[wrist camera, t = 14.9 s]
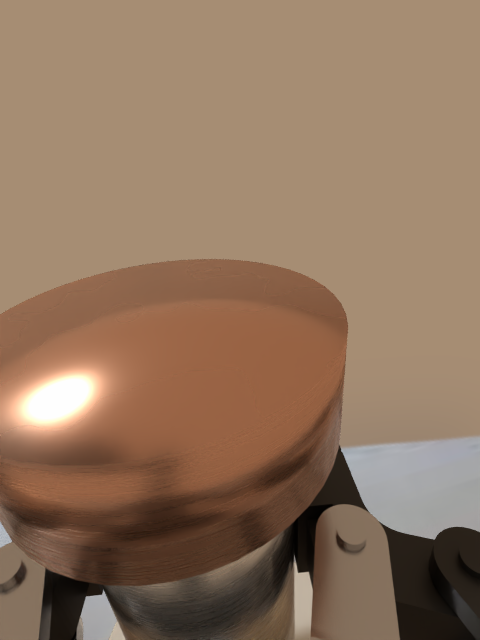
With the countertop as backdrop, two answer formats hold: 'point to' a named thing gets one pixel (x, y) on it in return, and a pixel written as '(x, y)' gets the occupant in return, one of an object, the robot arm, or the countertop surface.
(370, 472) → the countertop surface
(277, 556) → the copper-capped metal cylinder
